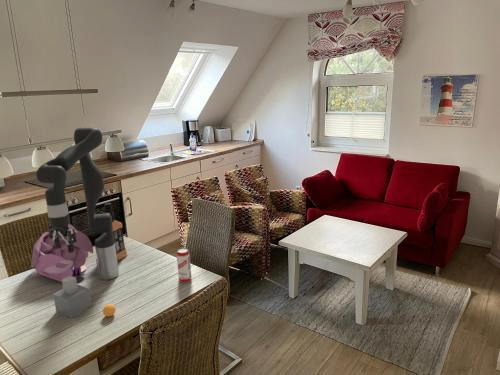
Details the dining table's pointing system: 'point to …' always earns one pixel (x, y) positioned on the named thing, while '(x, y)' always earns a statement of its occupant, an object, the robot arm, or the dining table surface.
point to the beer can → (184, 265)
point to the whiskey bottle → (116, 234)
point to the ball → (109, 310)
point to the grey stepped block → (72, 298)
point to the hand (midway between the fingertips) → (64, 250)
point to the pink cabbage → (61, 256)
